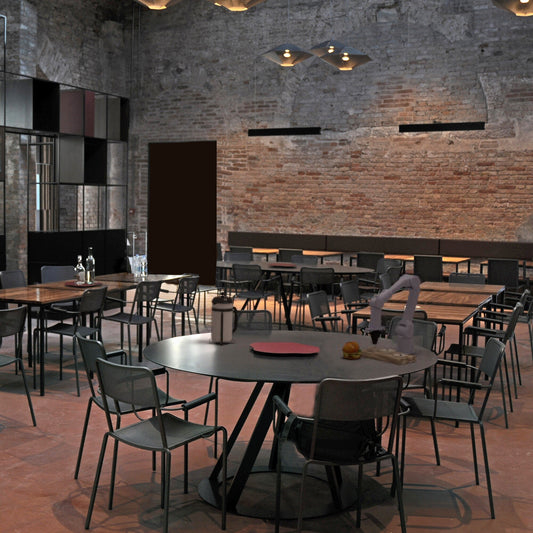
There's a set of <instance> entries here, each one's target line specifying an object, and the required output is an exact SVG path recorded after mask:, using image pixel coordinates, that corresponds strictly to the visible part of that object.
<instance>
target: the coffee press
mask: <svg viewBox="0 0 533 533" xmlns="http://www.w3.org/2000/svg"><path fill="white" fill-rule="evenodd" d="M233 304H234V300H233V298H232V297H230V296H227V295H225V292H224V291H221V292H220V295H217V296H214V297H213V298H212V300H211V307H210V308H211V314H210V315H211V317H210V318H211V319H210V320H211V321H210V322H211V330H210V339H209V340H208V344H211V343H213V342H215V343H219V344H220V346H223V345H224V344H223V343H228V342H230V343H231V344H233V342H235V340H234V339H233V334H234V333H236V331H237V330H238V323H239V322H238V319H239V314H238V309H237V307H236V306H233ZM233 318H234V319H233ZM233 321H234V322H233ZM233 323H234V324H233Z"/></svg>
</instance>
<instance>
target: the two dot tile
mask: <svg viewBox="0 0 533 533" xmlns="http://www.w3.org/2000/svg"><path fill="white" fill-rule="evenodd" d="M395 352H396V349H390V348H382V349H381V350H379V353H381V354H386V355H391V354H395Z"/></svg>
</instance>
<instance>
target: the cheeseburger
mask: <svg viewBox="0 0 533 533" xmlns="http://www.w3.org/2000/svg"><path fill="white" fill-rule="evenodd" d="M362 350H363V349H361V348H360V344H358V342H356V341H348V342H346V343H345V344H344V346H343V347H342V349H341V351H342V356H343V358H345V359H348V360H358V359H361V357H362V356H361V351H362Z"/></svg>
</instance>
